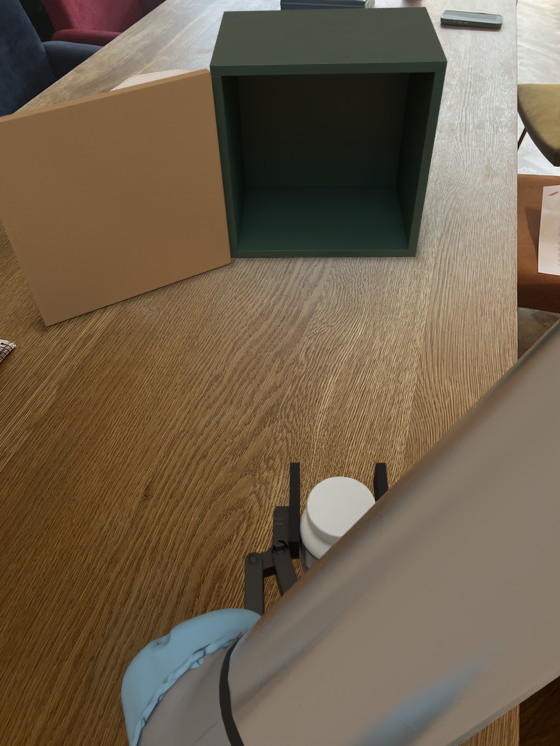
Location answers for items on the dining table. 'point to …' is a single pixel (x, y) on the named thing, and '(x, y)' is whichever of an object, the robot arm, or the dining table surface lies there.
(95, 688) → the dining table surface
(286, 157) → the cupboard
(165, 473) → the dining table surface
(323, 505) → the pill bottle
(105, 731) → the dining table surface
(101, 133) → the cupboard door
